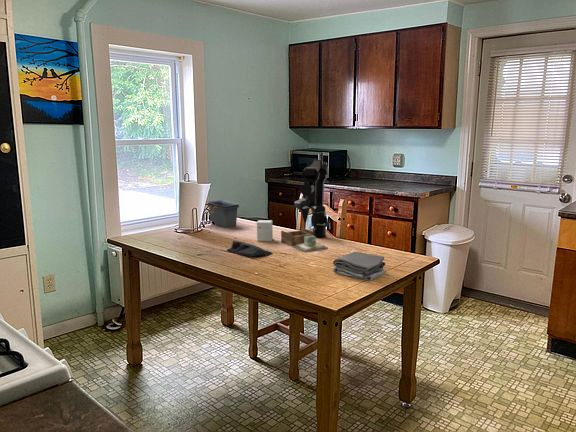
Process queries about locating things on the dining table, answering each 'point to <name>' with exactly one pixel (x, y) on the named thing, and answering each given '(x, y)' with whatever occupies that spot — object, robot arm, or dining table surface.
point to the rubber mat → (309, 250)
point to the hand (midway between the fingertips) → (310, 223)
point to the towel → (360, 265)
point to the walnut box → (295, 236)
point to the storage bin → (223, 212)
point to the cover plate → (309, 243)
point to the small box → (264, 230)
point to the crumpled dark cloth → (247, 249)
